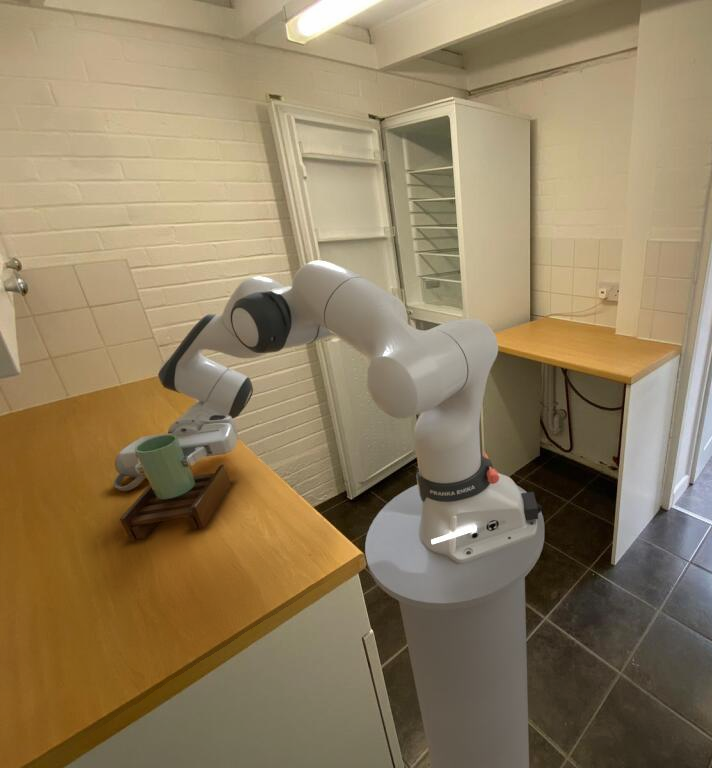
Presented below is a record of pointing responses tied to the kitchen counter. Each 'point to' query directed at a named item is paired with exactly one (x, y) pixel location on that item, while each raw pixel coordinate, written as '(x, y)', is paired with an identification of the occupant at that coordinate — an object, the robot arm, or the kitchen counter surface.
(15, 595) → the kitchen counter surface
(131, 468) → the ceramic mug
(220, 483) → the rack
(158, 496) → the tumbler
